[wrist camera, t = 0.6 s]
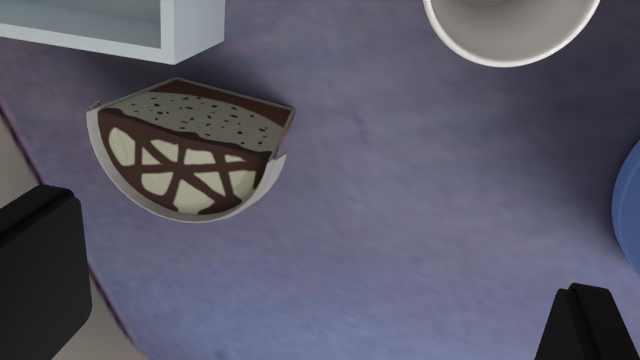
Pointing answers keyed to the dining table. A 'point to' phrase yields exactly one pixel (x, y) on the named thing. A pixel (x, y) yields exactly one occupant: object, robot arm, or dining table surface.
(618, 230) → the water jug
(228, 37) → the dining table surface
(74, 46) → the open storage bin
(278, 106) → the food container
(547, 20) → the drinking glass
